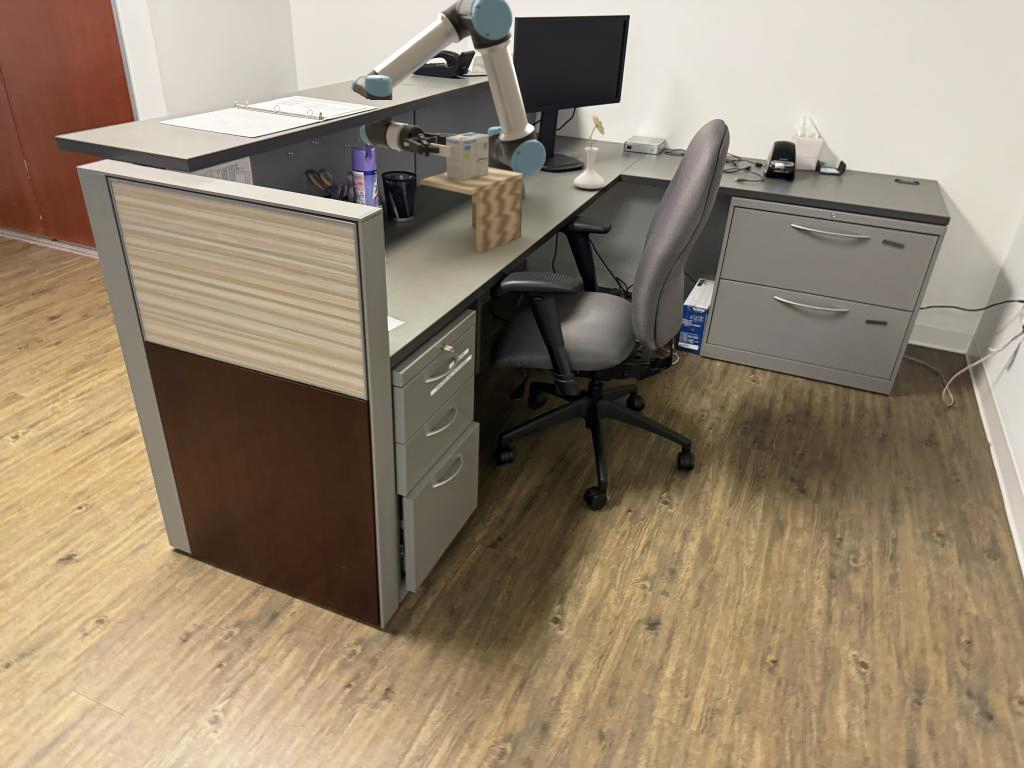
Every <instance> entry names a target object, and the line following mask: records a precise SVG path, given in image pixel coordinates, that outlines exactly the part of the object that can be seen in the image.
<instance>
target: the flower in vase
mask: <svg viewBox="0 0 1024 768" xmlns="http://www.w3.org/2000/svg"><path fill="white" fill-rule="evenodd" d="M591 118H592V121H593V123H594V127H593V129H592V131H591V134H590V135H589V136H588V137H589V140H590V141H589V145H590V147H589V146H588V147H585V148H584V150H585V152H586V155H587V166H586V169H585V170H584V171H583V172H581V174H579V175H578V176H577V177H576V178H574V181H573V184H574V185H575V186H576V187H578V188H581V189H586V190H596V189H601V188H603V187H604V186H605V185H606V182H605V180H604V179H603V177H601V176H600V174H598V173H597V172H596V170H595V157H596V155H597V152H598V151H599V150H600V148H598V147H593V144H595V143H597V140H596V139H594V140H593V141H592V135H593V133H594V131H595V129H597V131H598V132H599V134H601V135H602V136H604V135H605V134H606V132H605V127H604V126H603V125H602V121H601V120H600V119H599V117H598V115H595V114H594V113H593V114H592V116H591Z"/></svg>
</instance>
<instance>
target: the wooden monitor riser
mask: <svg viewBox="0 0 1024 768" xmlns="http://www.w3.org/2000/svg"><path fill="white" fill-rule="evenodd" d="M523 179H524V176H523V173H518V172H512V171H507V170H501V169H496V168H491V167H488V174H486V175H482V176H479V177H475V178H471V179H467V180H464V181H463V180H459V179H454V178H450V177H447V171H445V172H442V173H440V174H436V175H432V176H429V177H425V178H421V179H420V181H419V182H420V183H419V184H420V185H422V186H428V187H432V188H437V189H441V190H446V191H450V192H455V193H460V194H465V195H469V196H471V227H475V228H476V229H475V233H476V234H475V237H476V238H475V239H476V240H475V241H476V242H475V246H476V247H475V253H476V254H482V253H485V252H487V251H490V250H492V249H494V248H496V247H498V246H501V245H503V244H506V243H508V242H510V241H513V240H514V238H515V239H517V238H520V237H521V236H522V214H523V212H522V211H523V198H522V186H523V183H524V180H523ZM519 236H520V237H519ZM512 239H513V240H512Z"/></svg>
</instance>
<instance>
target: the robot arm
mask: <svg viewBox="0 0 1024 768" xmlns="http://www.w3.org/2000/svg"><path fill="white" fill-rule="evenodd" d="M513 19H514V18H513V11H512V9H511V6H510V4H509V3H508V1H507V0H455V1H453V2H452V3H450V4H449V5H448V6H447V7H446V8H445V9H443V10H442V11H440V13H438V15H437V20H436V21H434V22H433V23H431V24H430V25H429V26H427V27H426V28H425V29H424V30H423V31H421V32H420V33H418V34H417V35H416V36H414V37H413V38H412V39H410V40H409V41H408V42H407V43H406V44H405V45H403V46H402V47H400V48H399V49H397V50H396V51H395V52H394V53H392V54H391V55H390V56H389V57H387V58H386V59H385V60H383V62H381V63H380V64H378V65H377V66H376V67H375V68H373V70H370V71H369V72H368V73H366V74H365V75H363V76H357V77H356V78H355V79H353V82H352V84H351V91H352V90H353V91H354V92H356V93H358V94H360V95H361V96H363V97H365V98H366V99H370V100H393V89H394V88H395V87H397V86H398V85H400V83H403V81H405V80H406V79H407V78H408V77H410V76H411V75H412V74H414V73H415V72H416V71H417V70H418V69H420V68H422V67H423V66H425V64H427V63H428V62H429V61H431V60H432V59H434V57H435V56H437V55H438V54H440V53H441V52H442V51H444V50H445V49H446V48H447V47H449V46H451V44H453V43H455V44H458V43H460V42H462V41H463V40H464V39H465V38H468V37H470V38H471V42H472V44H473V49H474V51H476V52H478V53H479V54H480V55H481V59H482V63H483V67H484V69H485V73H486V76H487V80H488V83H489V89H490V92H491V96H492V99H493V103H494V106H495V109H496V114H497V118H498V121H499V125H500V126H492V127H489V128H488V130H487V134H486V135H489V136H488V167H491V168H496V169H501V170H507V171H512V172H518V173H523V177H531V176H533V175H535V174H537V173H538V172H539V171H540V170H541V169H542V168H543V166H544V164H545V163H546V159H547V158H546V157H547V156H546V155H547V153H546V149H545V146H544V145H543V143H541V142H540V141H539V140H538V137H537V134H536V133H537V132H536V130H535V126H533V124H530V123H529V122H528V121H529V120H528V119H527V113H526V109H525V105H524V101H523V97H522V93H521V90H520V86H519V82H518V77H517V74H516V70H515V66H514V61H513V57H512V53H511V49H510V42H511V41H512V39H513V36H512V32H511V28H512V24H513ZM460 134H465V133H464V132H461V133H460ZM460 134H459V133H446V132H445V133H442V132H435V131H434V132H432V133H431V132H424V130H423V129H422V127H420V126H419V125H413V124H410V123H409V124H408V123H404V122H396V121H394V116H393V117H390V118H387V119H384V120H381V121H379V122H376V123H371V124H367V125H363V126H361V125H360V128H359V135H360V138H361V140H362V141H363V143H364V144H367V145H370V146H373V147H377V148H385V149H390V150H396V151H397V153H401V152H406V153H411V154H412V153H413V154H417V155H420V156H421V155H424V157H426V158H429V157H430V155H433V156H440V157H444V158H447V157H451V146H446V137H451V136H456V135H460ZM525 198H526V187H525V183H524V182H523V186H522V199H525Z"/></svg>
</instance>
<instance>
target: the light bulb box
mask: <svg viewBox="0 0 1024 768" xmlns="http://www.w3.org/2000/svg"><path fill="white" fill-rule="evenodd" d="M488 136H489V135H487V134H485V133H478V132H473V131H469V132H465V133H464V134H462V133H460V135H456V136H451V137H446V145H445V146H451V157H446V172H447V177H450V178H454V179H459V180H463V181H464V180H467V179H471V178H475V177H479V176H482V175H486V174H488Z"/></svg>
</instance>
